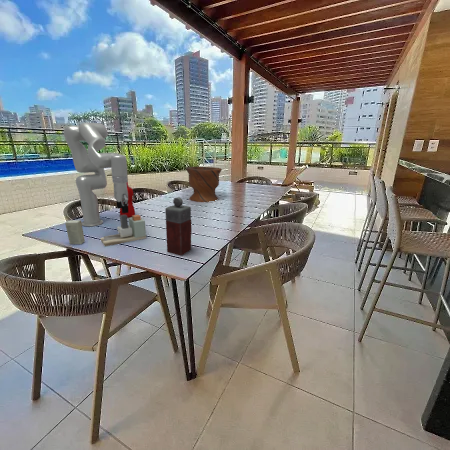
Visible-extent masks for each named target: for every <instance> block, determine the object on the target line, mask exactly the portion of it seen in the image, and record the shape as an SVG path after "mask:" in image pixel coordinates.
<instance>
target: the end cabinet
mask: <svg viewBox="0 0 450 450" xmlns="http://www.w3.org/2000/svg"><path fill="white" fill-rule="evenodd" d="M128 225H129V226H130V227H131V228H132V233H133V234H132V235H133V236H134V237H135V238H137V237H142V236H146V237H147V234H146V233H147V230H146V221H145V219H143V218H142V217H141V220H137V221H133V220H132V217H129V218H128Z"/></svg>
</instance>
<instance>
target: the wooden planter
mask: <svg viewBox="0 0 450 450" xmlns="http://www.w3.org/2000/svg"><path fill="white" fill-rule="evenodd" d="M185 170H186V172H187V173H188V185H189V186H190V187H191V188H192V189H193V194H192V195H191V196H189V198H188V199H189V201H191V202H195V203H210V202H209V201H214V202H216V201H215V200H217V199H218V200H219V197H218V196H217V195H216V189H217V188H218V187H219V185H220V174H221V172H222V170H223V169H222V168H221V167H214V166H188V167H185ZM218 200H217V201H218Z"/></svg>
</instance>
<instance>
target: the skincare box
mask: <svg viewBox="0 0 450 450" xmlns="http://www.w3.org/2000/svg"><path fill="white" fill-rule="evenodd" d="M64 224H65V228H66V233H67V237H68V238H67V239H68V242H69V244H70V245H83V243H85V241H86V239H85V233H84V228H83V225H82V220H81V219H78V220H77V219H76V220H73V219H72V220H71V219H70V220H68V221H66V222H64Z"/></svg>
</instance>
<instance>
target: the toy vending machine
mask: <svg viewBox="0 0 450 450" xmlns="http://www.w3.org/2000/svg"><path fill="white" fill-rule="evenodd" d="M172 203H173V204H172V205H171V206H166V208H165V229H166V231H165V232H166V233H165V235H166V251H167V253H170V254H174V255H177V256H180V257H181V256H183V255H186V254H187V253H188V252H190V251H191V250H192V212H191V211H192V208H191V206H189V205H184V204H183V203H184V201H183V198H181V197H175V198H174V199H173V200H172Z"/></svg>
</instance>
